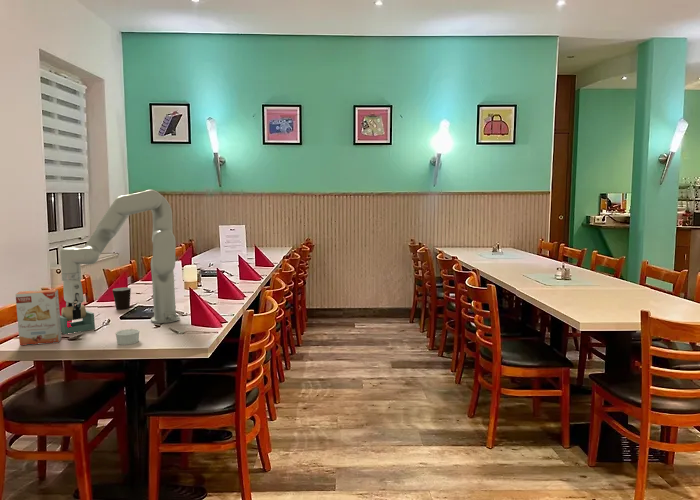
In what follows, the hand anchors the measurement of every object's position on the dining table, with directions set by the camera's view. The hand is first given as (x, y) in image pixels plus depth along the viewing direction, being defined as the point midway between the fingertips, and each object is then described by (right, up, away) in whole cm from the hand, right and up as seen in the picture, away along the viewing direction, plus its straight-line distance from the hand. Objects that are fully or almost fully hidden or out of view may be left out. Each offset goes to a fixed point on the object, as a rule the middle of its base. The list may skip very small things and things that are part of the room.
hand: (74, 317), depth 238 cm
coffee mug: (+4, -1, +44) cm, 44 cm away
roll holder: (0, -6, +1) cm, 6 cm away
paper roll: (0, -1, 0) cm, 1 cm away
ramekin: (+31, -8, -20) cm, 38 cm away
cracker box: (-4, -8, -18) cm, 20 cm away
